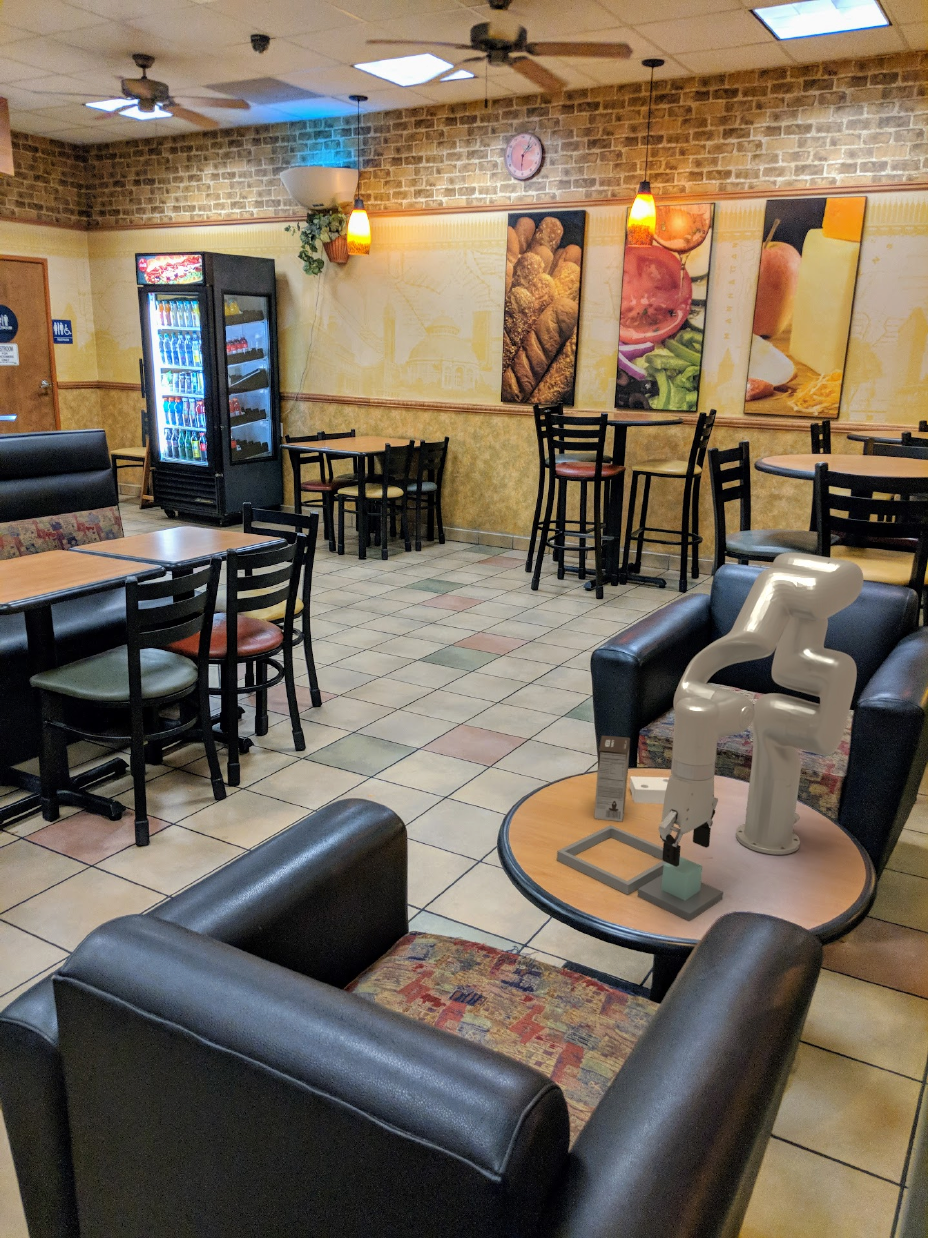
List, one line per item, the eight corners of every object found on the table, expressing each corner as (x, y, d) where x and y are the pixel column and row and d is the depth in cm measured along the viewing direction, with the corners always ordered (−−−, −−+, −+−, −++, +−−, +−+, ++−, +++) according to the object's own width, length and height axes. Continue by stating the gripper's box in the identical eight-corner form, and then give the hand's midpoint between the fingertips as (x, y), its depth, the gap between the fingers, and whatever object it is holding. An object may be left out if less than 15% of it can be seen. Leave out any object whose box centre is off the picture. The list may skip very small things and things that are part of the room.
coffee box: (596, 801, 212) (601, 734, 208) (625, 804, 211) (630, 737, 207) (593, 819, 203) (598, 749, 199) (623, 822, 202) (629, 752, 198)
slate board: (671, 876, 180) (672, 869, 180) (722, 899, 173) (723, 892, 172) (637, 896, 173) (638, 888, 173) (689, 921, 165) (689, 913, 165)
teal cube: (676, 880, 176) (678, 856, 175) (699, 890, 173) (702, 866, 171) (661, 889, 172) (663, 865, 171) (685, 900, 169) (687, 875, 168)
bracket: (685, 792, 219) (688, 762, 217) (692, 805, 212) (695, 774, 210) (629, 790, 219) (631, 760, 217) (634, 803, 212) (636, 772, 210)
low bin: (609, 834, 197) (610, 825, 196) (679, 864, 185) (680, 855, 184) (556, 860, 185) (557, 851, 184) (627, 895, 173) (628, 885, 173)
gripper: (701, 747, 175) (694, 831, 180) (646, 774, 163) (640, 863, 168) (737, 759, 170) (729, 845, 174) (683, 788, 158) (676, 879, 163)
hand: (685, 854), depth 171 cm, fingers open, 9 cm apart
